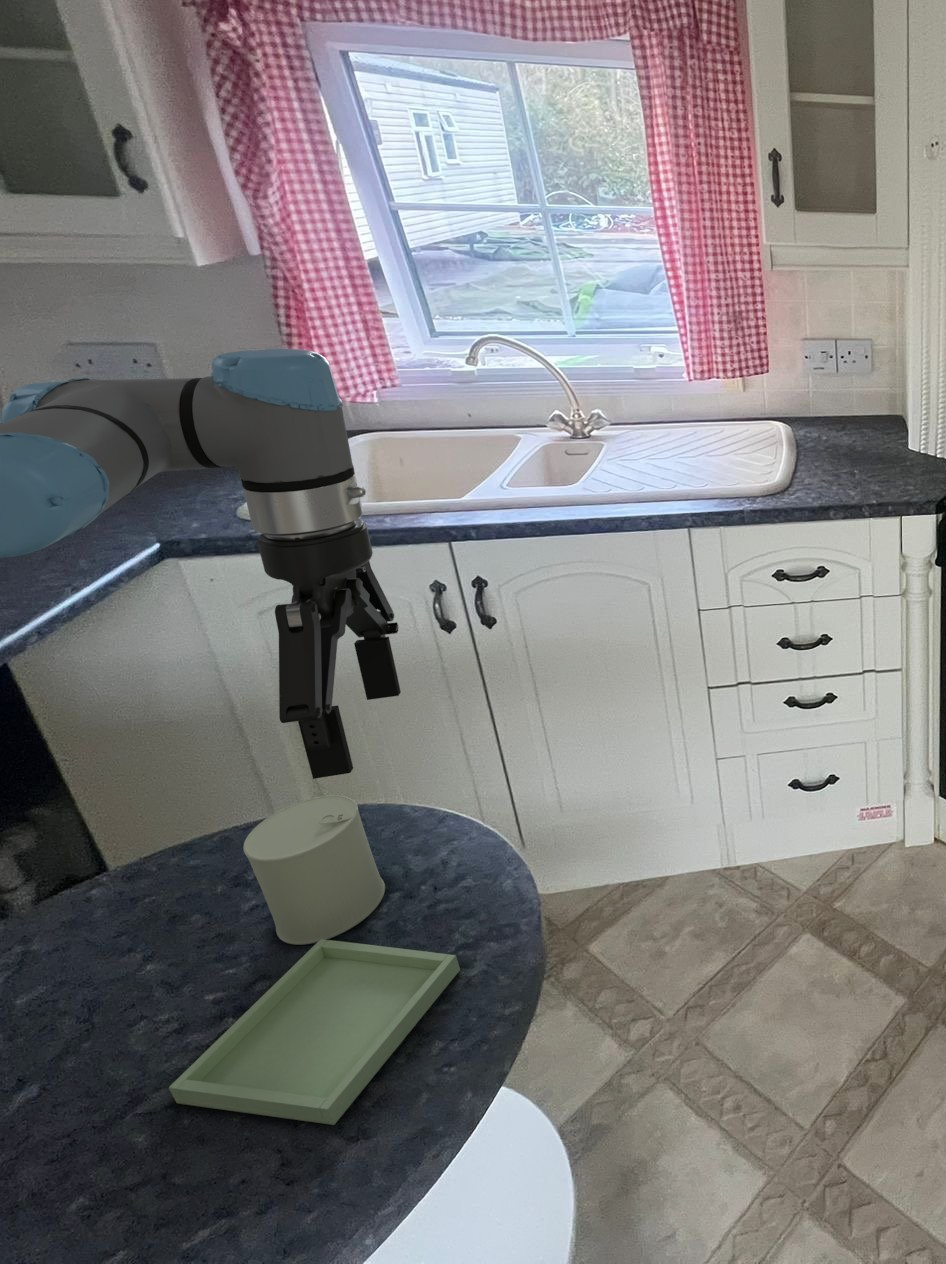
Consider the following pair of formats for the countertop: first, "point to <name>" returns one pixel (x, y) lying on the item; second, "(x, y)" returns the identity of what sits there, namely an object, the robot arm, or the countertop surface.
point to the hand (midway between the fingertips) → (360, 732)
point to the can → (315, 868)
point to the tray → (318, 1032)
